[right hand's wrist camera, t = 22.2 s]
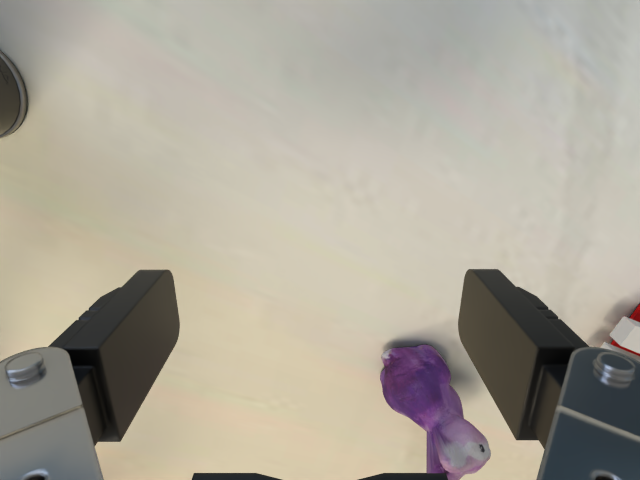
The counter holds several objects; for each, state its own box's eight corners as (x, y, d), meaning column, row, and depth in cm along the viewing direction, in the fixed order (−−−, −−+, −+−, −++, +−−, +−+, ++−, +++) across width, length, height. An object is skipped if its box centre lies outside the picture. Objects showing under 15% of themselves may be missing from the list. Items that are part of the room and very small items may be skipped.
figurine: (459, 396, 52) (511, 511, 38) (380, 402, 52) (402, 517, 38) (461, 335, 48) (519, 435, 34) (377, 341, 49) (400, 443, 35)
